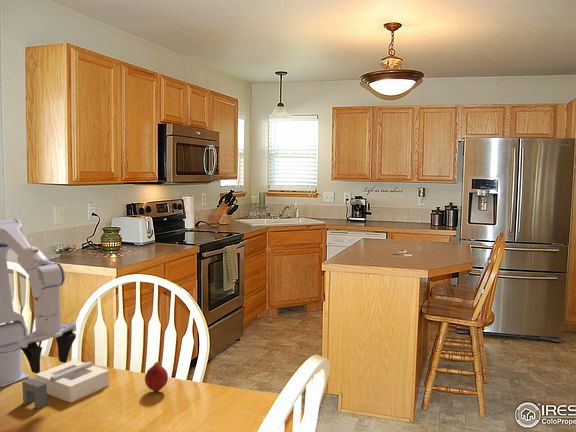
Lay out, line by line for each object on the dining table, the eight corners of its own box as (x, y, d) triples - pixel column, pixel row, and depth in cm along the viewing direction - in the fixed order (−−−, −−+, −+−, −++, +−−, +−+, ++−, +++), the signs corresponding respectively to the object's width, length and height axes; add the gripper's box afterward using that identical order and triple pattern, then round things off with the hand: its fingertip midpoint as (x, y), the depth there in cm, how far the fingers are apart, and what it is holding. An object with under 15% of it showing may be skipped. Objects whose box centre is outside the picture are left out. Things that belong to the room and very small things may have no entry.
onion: (162, 397, 136) (161, 367, 135) (141, 395, 137) (140, 365, 136) (171, 388, 142) (171, 359, 141) (151, 385, 143) (151, 357, 142)
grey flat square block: (23, 402, 132) (22, 381, 131) (32, 399, 134) (31, 378, 133) (38, 408, 129) (37, 387, 128) (47, 404, 131) (46, 383, 130)
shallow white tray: (35, 389, 139) (35, 371, 139) (74, 374, 150) (74, 357, 149) (70, 402, 132) (70, 383, 132) (109, 385, 143) (108, 367, 142)
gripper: (31, 324, 121) (33, 381, 122) (83, 308, 133) (84, 360, 135) (12, 318, 124) (14, 374, 126) (65, 304, 137) (66, 355, 138)
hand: (49, 366), depth 131 cm, fingers open, 7 cm apart
